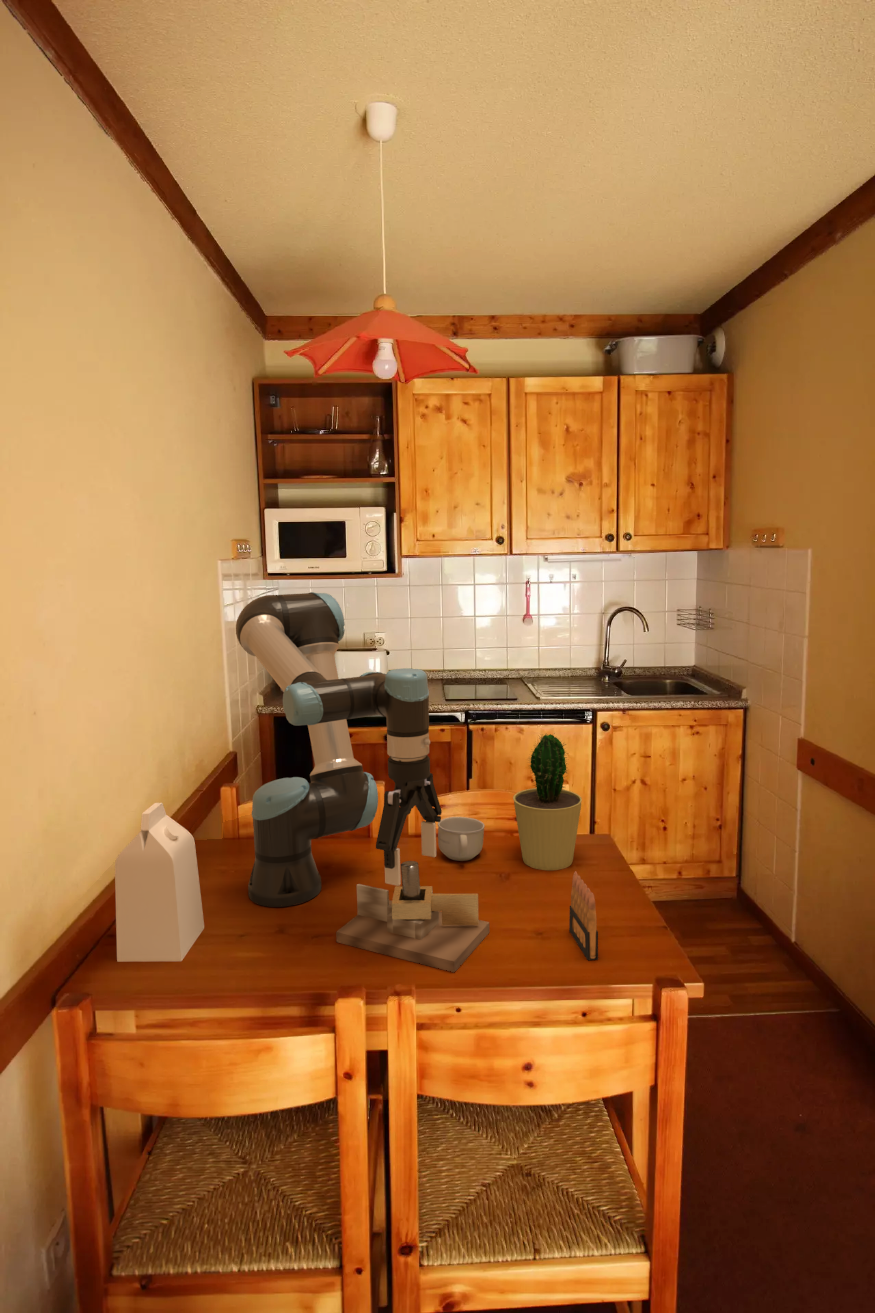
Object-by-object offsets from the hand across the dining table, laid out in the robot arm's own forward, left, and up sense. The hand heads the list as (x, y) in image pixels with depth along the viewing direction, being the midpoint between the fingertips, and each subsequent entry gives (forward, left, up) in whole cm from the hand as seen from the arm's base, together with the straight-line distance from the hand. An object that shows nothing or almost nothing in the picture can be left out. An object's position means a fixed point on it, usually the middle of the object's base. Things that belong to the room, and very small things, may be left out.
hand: (411, 869), depth 138 cm
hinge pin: (0, 0, -11) cm, 11 cm away
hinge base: (0, 0, -13) cm, 13 cm away
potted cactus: (+11, +44, -13) cm, 47 cm away
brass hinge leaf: (+4, +2, -11) cm, 12 cm away
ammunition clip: (+29, +10, -14) cm, 34 cm away
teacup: (-8, +36, -14) cm, 39 cm away
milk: (-41, -22, -14) cm, 48 cm away
